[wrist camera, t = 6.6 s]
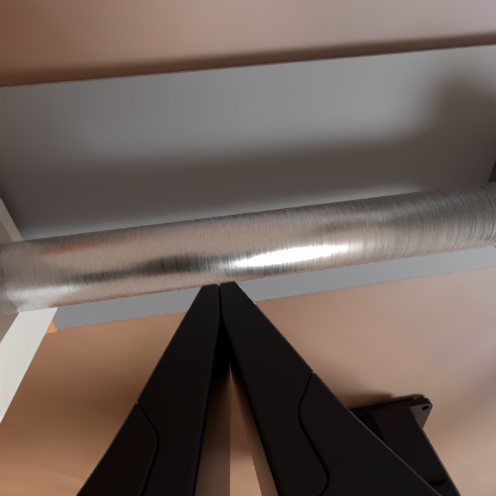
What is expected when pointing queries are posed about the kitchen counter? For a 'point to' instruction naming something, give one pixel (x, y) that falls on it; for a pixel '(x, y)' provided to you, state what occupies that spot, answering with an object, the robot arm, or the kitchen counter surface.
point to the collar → (17, 330)
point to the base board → (247, 154)
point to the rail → (243, 246)
